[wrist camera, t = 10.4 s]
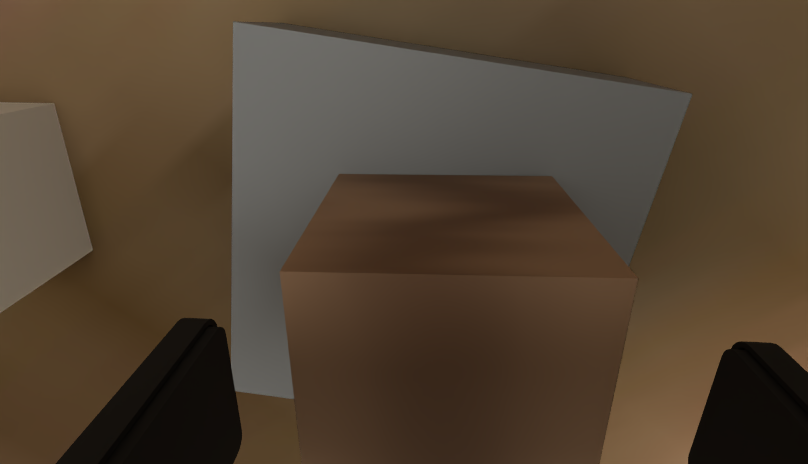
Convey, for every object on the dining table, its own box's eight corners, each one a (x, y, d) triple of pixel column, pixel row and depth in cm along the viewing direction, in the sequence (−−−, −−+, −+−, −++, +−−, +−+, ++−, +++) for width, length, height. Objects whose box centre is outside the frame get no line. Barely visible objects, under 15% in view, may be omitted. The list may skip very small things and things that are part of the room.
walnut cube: (552, 175, 14) (637, 278, 8) (530, 353, 16) (585, 526, 10) (339, 174, 14) (280, 271, 8) (348, 348, 16) (307, 515, 11)
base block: (620, 75, 17) (692, 93, 13) (535, 350, 22) (566, 436, 17) (284, 22, 17) (232, 21, 12) (271, 313, 22) (230, 390, 17)
